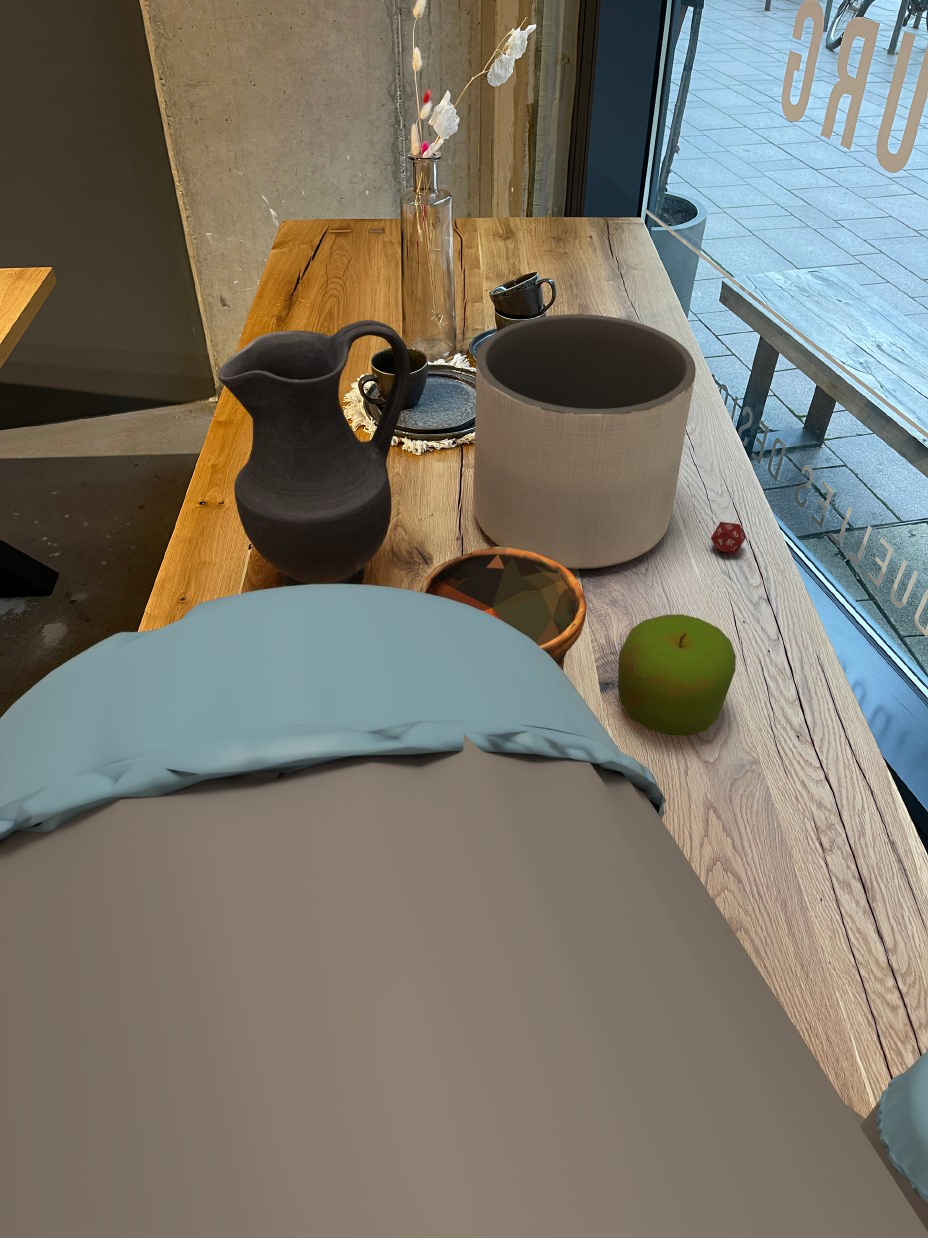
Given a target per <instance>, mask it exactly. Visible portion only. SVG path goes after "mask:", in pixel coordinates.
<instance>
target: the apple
mask: <svg viewBox="0 0 928 1238" xmlns="http://www.w3.org/2000/svg"><path fill="white" fill-rule="evenodd" d="M736 658H737V655H736V653H735V650H734V646H733V642H732V641H731V640H730V639H729V638H728V636H727V635H726V634H725V633H724V632H723V630H721V629H720V628H719V627H717V626H716V625H713V624H711V623H710V622H708V621H706V620H703V619H701V618H699V617H695V616H692V615H691V616H690V615H687V614H683V613H681V614H680V613H679V614H663V615H659V616H655V617H651V618H648V619H644V620H642V621H641V622H639V623H638V624H637V625H635V626H633V627H632V628H631V629H630V631H629V633H628V635H627V636H626V638H625V641H624V643H623V645H622V647H621V649H620V651H619V652H618V672H617V673H618V674H617V692H618V697H619V702H620V705H621V706H622V708H623V710H624V711H625V713H626V714H627V716H628V717H629V719H630V720H632V721H634V722H635V723H637V725H640V726H641V727H643V728H645V729H646V730H648V731H652V732H655V733H658V734H661V735H664V736H668V737H669V736H671V737H690V736H694V735H697V734H700V733H704V732H706V731H708V730H709V728H711V726H712V725H714V724H715V722H717V720H718V719H719V716H720V713H721V711H722V709H723V706H724V704H725V701H726V698H727V696H728V692H729V690H730V687H731V684H732V681H733V678H734V676H735V673H736V664H737V663H736V662H737V659H736Z"/></svg>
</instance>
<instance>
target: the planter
mask: <svg viewBox="0 0 928 1238" xmlns="http://www.w3.org/2000/svg"><path fill="white" fill-rule="evenodd" d="M475 361H476V363H475V367H476V368H475V370H476V371H475V412H474V413H475V416H474V417H475V419H474V449H473V453H474V454H473V483H472V484H473V486H472V494H473V496H472V501H473V510H474V516H475V519H476V521H477V523H478V525H479V526H480V529H481V530H482V531H483V532H484V534H485V535H486V536H487V537H488V539H490V540H491V541H492V542H493V543H495V544H496V545H497V546H498V547H509V548H514V549H520V550H524V551H529V552H534V553H537V554H539V555H541V556H544V557H546V558H548V559H551V560H553V561H555V562H557V563H559V564H560V565H562V566H564V567H565V568H566V569H568V570H593V569H602V568H608V567H612V566H617V565H620V564H624V563H627V562H629V561H632V560H635V559H636V558H638V557H640V556H642V555H644V554H646V553H647V552H649V551H650V550H651V549H653V548H654V547H655V546H656V545H657V544H659V542H660V541H661V540H662V539H663V538H664V536H665V534H666V533H667V531H668V528H669V525H670V523H671V519H672V514H673V511H674V510H673V509H674V504H675V499H676V492H677V488H678V487H677V485H678V480H679V474H680V467H681V461H682V455H683V449H684V443H685V438H686V437H685V436H686V430H687V426H688V419H689V415H690V408H691V402H692V397H693V391H694V385H695V379H696V371H697V370H696V368H697V367H696V362H695V360H694V357H693V356H692V354H691V353H690V351H689V350H688V349H687V348H686V347H685V346H684V345H683V344H682V343H680V342H679V341H678V340H676V339H675V338H673V337H672V336H671V335H669V334H667V333H665V332H663V331H661V330H659V329H657V328H654V327H652V326H649V325H646V324H644V323H640V322H637V321H633V320H628V319H625V318H619V317H613V316H607V315H599V314H583V313H582V314H580V313H570V314H569V313H568V314H567V313H566V314H553V315H544V316H540V317H533V318H529V319H525V320H522V321H518V322H515V323H512V324H510V325H507V326H505V327H503V328H501V329H499V330H497V331H496V332H494V333H493V334H492V335H489V336H488V338H487V339H485V340H484V341H483V343H482V344H481V345H480V347H479V349H478V351H477V354H476V360H475Z"/></svg>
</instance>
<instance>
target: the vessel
mask: <svg viewBox="0 0 928 1238" xmlns="http://www.w3.org/2000/svg"><path fill="white" fill-rule="evenodd" d="M419 592H422V593H426V594H431V595H435V596H439V597H444V598H447V599H450V600H454V601H457V602H460V603H463V604H466V605H469V606H471V607H474V608H476V609H479V610H481V611H484V612H486V613H488V614H490V615H492V616H494V617H496V618H498V619H500V620H502V621H503V622H505V623H507V624H508V625H510V626H512V627H513V628H515V629H516V630H518V631H520V632H521V633H523V634H524V635H526V636H527V637H529V638H530V639H531V640H533V641H534V642H535V643H536V644H537V645H538V646H540V647H541V648H542V649H543V650H544V651H545V652H546V653H547V654H549V655H550V657H551V658H552V659H553V660H554V661H555V662H556V663H557V664H558V666H559V667H560V668H561V669H562V670H563V671H564V669H565V657H566V655H567V652H568V651H569V650H571V648H572V647H573V646H574V644H576V642H577V641H578V639H579V638H580V636H581V634H582V633H583V629H584V625H585V622H586V617H587V603H586V597H585V595H584V592H583V589H582V585H581V583H580V582H579V580H578V579H577V577H575V575H574V574H573V573H572V572H571V571H570V569H566V568H565V567H564V566H562V565H560V564H559V563H557V562H555V561H553V560H551V559H548V558H546V557H544V556H541V555H539V554H537V553H534V552H529V551H524V550H520V549H514V548H509V547H500V546H490V547H485V548H481V549H476V550H474V551H471V552H469V553H466V554H463V555H460V556H457V557H454V558H452V559H448V560H447V561H445V562H443V563H441V564H439V565H437V566H435V567H434V568H433V569H432V571H431V572H430V573H429V574H428V575H427V576H425V577H424V579H423V581H422V584H421V586H420V589H419Z"/></svg>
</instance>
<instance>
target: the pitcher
mask: <svg viewBox="0 0 928 1238" xmlns="http://www.w3.org/2000/svg"><path fill="white" fill-rule="evenodd" d="M366 336H374V337H376V338H377V337H378V338H381V339H384V340H385V341H386V342H387V343H388V345H389V346H390V348H391V351H392V354H393V359H394V371H393V372H394V373H393V379H392V383H391V386H390V390H389V392H388V396H387V398H386V401H385V404H384V407H383V408H382V412H381V414H380V416H379V420H378V422H377V425H376V428H375V430H374V432H373V435H372V437H371V438H370V440H368V441H364V440H363V441H361V440H360V439H359V438H358V437H357V435H356V434H355V431H354V430H353V429H352V427H351V426H350V423H349V421H348V418H347V417H346V415H345V413H344V410H343V408H342V406H341V403H340V395H339V394H340V382H341V377H342V374H343V372H344V370H345V368H346V366H347V363H348V360H349V354H350V351H351V349H352V346H353V344H354V343H355V342H356V340H359V339H361V338H364V337H366ZM410 358H411V357H410V354H409V351H408V347H407V344H406V342H405V341H404V340H403V338H402V337H401V336H400V334H399V333H398V332H397V331H396V329H394V328H393V327H392V326H390V325H389V324H386V323H384V322H382V321H378V320H374V319H372V320H371V319H365V320H358V321H355V322H352V323H350V324H347V325H345V326H342V327H341V328H340V329H338V330H337V331H336V332H335V333H334V334H333V335H328V334H325V333H322V332H316V331H309V330H282V331H275V332H269V333H265V334H262V335H260V336H257V337H256V338H255V339H253V340H251V341H250V342H249V343H248V344H247V345H246V346H244V347H243V348H241V349H240V350H238V351H236V353H234V354H233V355H231V356H230V357H229V358H228V359H227V360H226V361H225V362H224V363H223V364H222V366H221V367H220V368H219V371H218V381H219V382H220V383H221V384H222V385H223V386H224V387H225V388H226V389H227V390H228V391H229V392H230V393H231V395H233V397H234V398H235V399H236V400H237V401H238V402H239V403H240V404H241V406H242V407H243V408H244V410H246V412H247V413H248V414H249V416H250V417H251V419H252V442H251V450H250V454H249V458H248V460H247V462H246V463H245V464H244V465H243V466H242V467H241V469H240V470H239V472H238V473H237V475H236V477H235V479H234V488H233V489H234V499H235V504H236V510H237V513H238V516H239V520H240V522H241V526H242V528H243V531H244V533H245V536H247V538H248V540H249V542H250V543H251V545H252V546H253V547H254V549H255V550H256V551H257V552H258V554H259V555H260V556H261V557H262V558H263V559H264V560H265V561H266V562H267V564H269V565H270V566H271V567H272V568H274V569H275V570H277V571H278V572H280V573H282V575H283V576H282V580H283V584H284V587H285V586H298V585H311V584H358V585H363V582H364V580H365V566H367V565H368V564H369V563H370V562H371V561H372V560H373V558H374V557H375V556H376V555H377V553H378V552H379V550H380V548H381V547H382V546H383V544H384V542H385V539H386V537H387V534H388V531H389V528H390V524H391V519H392V490H391V483H390V478H389V473H388V467H387V466H388V465H387V464H388V463H387V461H388V457H389V453H390V450H391V446H392V441H393V439H394V435H395V432H396V429H397V425H398V422H399V419H400V416H401V413H402V410H403V407H404V403H405V400H406V397H407V393H408V389H409V385H410V378H411V361H410V360H411V359H410Z"/></svg>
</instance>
